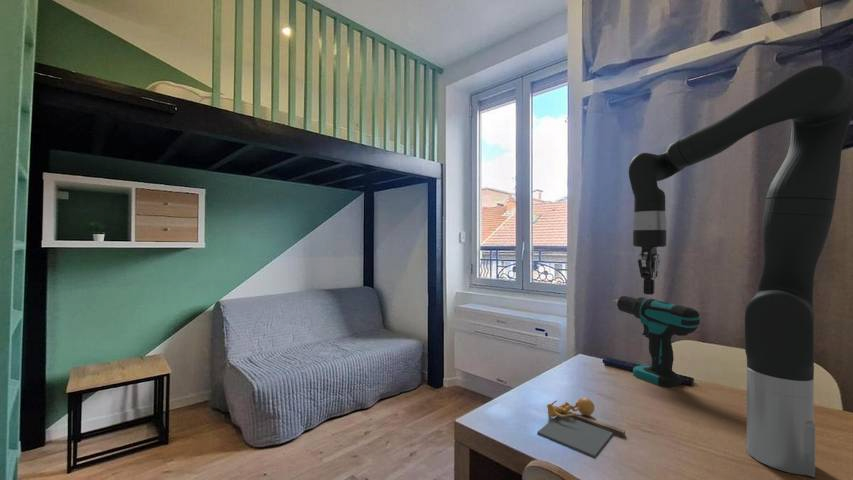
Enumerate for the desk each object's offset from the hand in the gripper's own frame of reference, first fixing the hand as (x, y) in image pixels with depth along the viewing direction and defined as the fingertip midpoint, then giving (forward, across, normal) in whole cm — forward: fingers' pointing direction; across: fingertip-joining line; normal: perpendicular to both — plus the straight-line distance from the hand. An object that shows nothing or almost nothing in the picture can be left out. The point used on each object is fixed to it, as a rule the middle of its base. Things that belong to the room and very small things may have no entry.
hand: (649, 294), depth 92 cm
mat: (+29, -29, +8) cm, 42 cm away
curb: (+29, -22, +8) cm, 37 cm away
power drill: (+29, +22, +4) cm, 37 cm away
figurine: (+28, -17, +8) cm, 34 cm away
